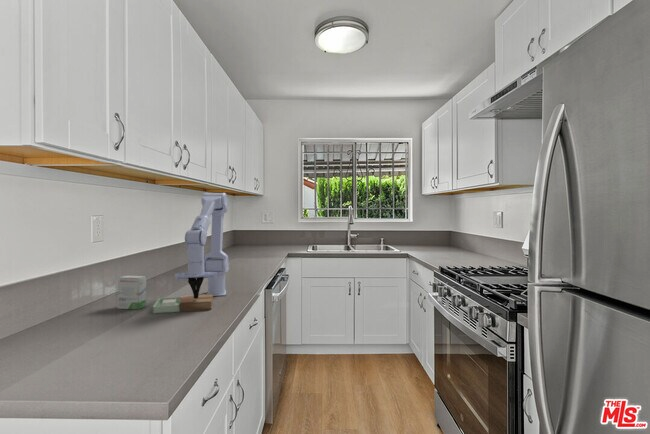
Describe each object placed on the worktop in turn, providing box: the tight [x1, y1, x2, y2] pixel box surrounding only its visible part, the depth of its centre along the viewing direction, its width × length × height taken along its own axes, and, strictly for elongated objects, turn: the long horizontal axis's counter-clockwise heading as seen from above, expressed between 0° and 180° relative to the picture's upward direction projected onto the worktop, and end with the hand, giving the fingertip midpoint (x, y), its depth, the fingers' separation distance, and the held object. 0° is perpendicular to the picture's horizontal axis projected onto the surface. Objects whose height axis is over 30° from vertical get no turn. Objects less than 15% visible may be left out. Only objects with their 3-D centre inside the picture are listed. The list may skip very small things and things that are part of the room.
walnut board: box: [179, 293, 214, 313], centre depth 140 cm, size 13×11×3 cm
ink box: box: [117, 275, 147, 310], centre depth 138 cm, size 9×5×12 cm, turn 84°
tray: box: [152, 296, 181, 314], centre depth 138 cm, size 13×9×2 cm
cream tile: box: [162, 299, 176, 306], centre depth 140 cm, size 4×4×2 cm
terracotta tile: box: [180, 294, 194, 303], centre depth 136 cm, size 4×4×2 cm
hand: (196, 297), depth 137 cm, fingers closed
